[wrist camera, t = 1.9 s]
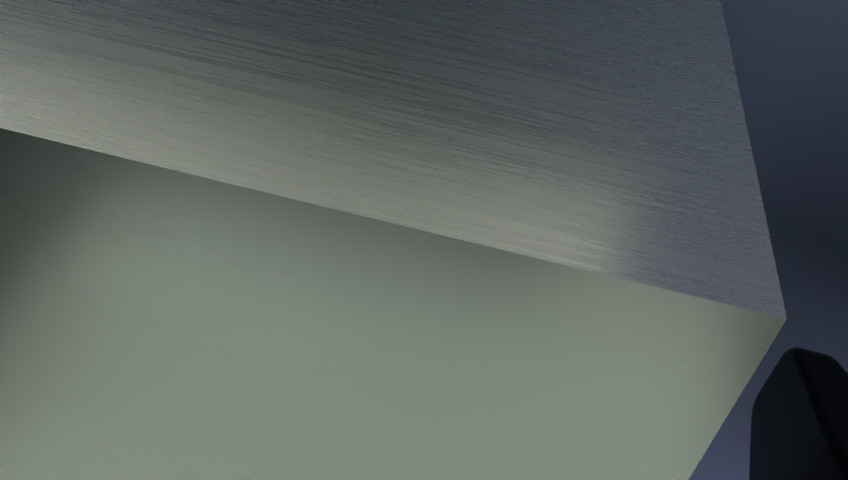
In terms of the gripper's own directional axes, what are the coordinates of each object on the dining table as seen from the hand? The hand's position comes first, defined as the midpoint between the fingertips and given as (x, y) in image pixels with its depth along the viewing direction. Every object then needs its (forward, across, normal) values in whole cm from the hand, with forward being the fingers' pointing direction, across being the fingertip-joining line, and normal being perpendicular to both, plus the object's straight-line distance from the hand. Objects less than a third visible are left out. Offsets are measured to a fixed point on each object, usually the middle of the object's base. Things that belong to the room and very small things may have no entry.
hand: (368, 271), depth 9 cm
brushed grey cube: (+3, 0, 0) cm, 3 cm away
